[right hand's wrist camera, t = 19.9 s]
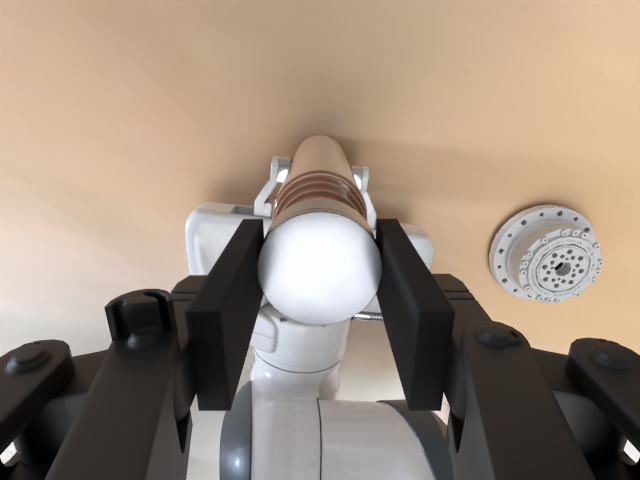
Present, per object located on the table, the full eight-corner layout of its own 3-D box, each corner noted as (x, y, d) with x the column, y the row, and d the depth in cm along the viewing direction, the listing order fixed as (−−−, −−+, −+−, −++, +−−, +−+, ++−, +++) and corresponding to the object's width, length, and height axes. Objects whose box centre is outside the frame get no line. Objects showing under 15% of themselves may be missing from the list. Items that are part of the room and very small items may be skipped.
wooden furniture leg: (327, 124, 34) (339, 173, 12) (354, 167, 36) (409, 281, 14) (284, 153, 35) (226, 247, 13) (313, 194, 36) (302, 341, 15)
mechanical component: (476, 288, 40) (566, 298, 40) (494, 310, 36) (594, 321, 36) (504, 197, 36) (602, 209, 37) (527, 210, 32) (638, 224, 33)
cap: (345, 317, 15) (347, 342, 14) (247, 277, 15) (238, 298, 13) (396, 226, 14) (406, 243, 12) (290, 178, 13) (286, 189, 12)
